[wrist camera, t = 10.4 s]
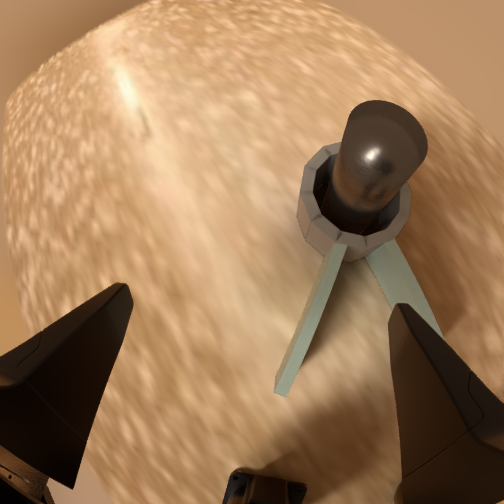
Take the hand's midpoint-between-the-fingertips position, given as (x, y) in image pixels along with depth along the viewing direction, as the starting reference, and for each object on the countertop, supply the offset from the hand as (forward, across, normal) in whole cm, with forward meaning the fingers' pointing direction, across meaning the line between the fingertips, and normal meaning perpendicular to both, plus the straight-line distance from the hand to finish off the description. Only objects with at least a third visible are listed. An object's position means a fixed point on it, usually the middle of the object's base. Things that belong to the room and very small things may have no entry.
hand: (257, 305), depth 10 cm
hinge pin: (+15, -5, +4) cm, 17 cm away
